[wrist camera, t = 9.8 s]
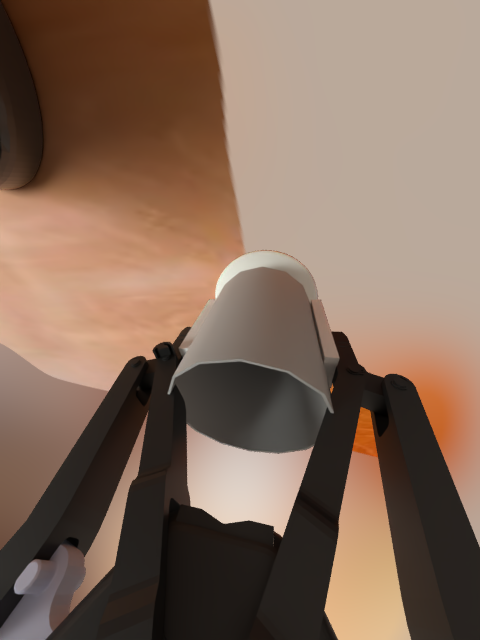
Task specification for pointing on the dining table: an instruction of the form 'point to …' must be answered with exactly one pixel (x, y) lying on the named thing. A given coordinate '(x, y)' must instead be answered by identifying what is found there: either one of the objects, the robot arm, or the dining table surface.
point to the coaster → (270, 261)
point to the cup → (256, 367)
